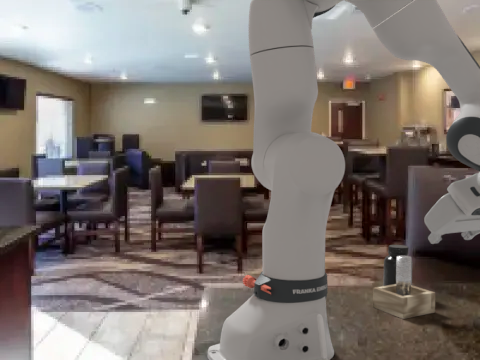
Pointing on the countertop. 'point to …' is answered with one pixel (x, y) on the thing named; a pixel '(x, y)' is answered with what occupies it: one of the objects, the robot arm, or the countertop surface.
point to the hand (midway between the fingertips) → (449, 239)
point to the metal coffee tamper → (403, 275)
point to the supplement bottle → (393, 263)
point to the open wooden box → (404, 301)
